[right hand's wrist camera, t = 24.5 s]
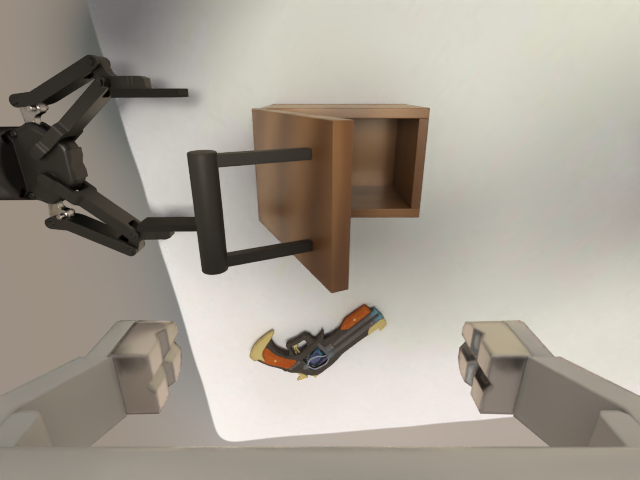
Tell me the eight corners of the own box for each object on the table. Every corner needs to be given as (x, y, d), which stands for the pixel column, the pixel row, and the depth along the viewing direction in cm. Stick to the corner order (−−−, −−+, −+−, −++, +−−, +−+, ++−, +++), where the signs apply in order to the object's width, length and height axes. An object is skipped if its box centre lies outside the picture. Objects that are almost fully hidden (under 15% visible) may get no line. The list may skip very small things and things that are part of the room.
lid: (353, 119, 20) (190, 125, 17) (348, 289, 24) (214, 321, 21) (265, 108, 34) (164, 110, 30) (271, 218, 37) (181, 231, 34)
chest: (405, 104, 44) (430, 107, 34) (398, 191, 48) (418, 217, 38) (273, 104, 44) (259, 108, 34) (277, 191, 48) (265, 217, 38)
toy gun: (243, 356, 54) (289, 402, 56) (344, 275, 51) (390, 327, 52) (247, 347, 57) (291, 391, 58) (343, 269, 53) (387, 318, 55)
